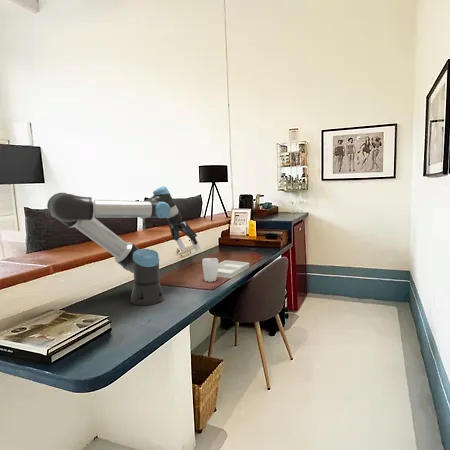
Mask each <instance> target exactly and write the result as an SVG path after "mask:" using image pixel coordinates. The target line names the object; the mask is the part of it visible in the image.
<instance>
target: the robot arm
mask: <svg viewBox="0 0 450 450" xmlns="http://www.w3.org/2000/svg"><path fill="white" fill-rule="evenodd" d="M46 204H47V205H46V207H47V212H48V213H49V215H50V216H51V217H52V218H54V219H56V220H58V221H60V223H62V224H63V225H65V226H66V227H68V228H69V229H70V228H75V229H76V230H78V231H79V232H80V233H82V234H83V235H84V236H86V237H88V238H89V239H90V240H91V241H92V242H94V243H95V244H97V245H98V246H99V247H101V248H102V249H104V250H105V251H106V252H107V253H109V254H110V255H112V256H113V257H114V261H115V262H116V263H117V264H118V265H120V266H121V267H122V268H123V269H125V270H126V271H129V272H130V273H132V274H133V288H132V291H131V294H130V295H131V296H130V303H132V304H133V305H138V306H149V305H150V306H151V305H156V304H160V303H161V302H163V301H164V299H165V298H164V292H163V289H162V286H161V283H160V255H159V252H157V251H156V250H155V249H150V248H139V247H137V246H136V245H135V244H134V243H132V242H131V241H130V242H127V241H125V240H124V239H122V238H121V237H120V236H119V235H117V234H116V233H115V232H113V231H112V230H111V229H109V228H108V227H107V226H105V225H104V224H103V223H102V222H101V221H99V220H98V219H97V218H100V219H104V218H108V219H109V218H115V219H116V218H117V219H118V218H123V219H125V218H140V219H142V220H144V219H146V218H151V219H152V218H154V219H155V218H159V219H166V221H167V222H168V227H169V229H170V230H169V231H170V235H171V240H174V241H175V242H176V244H177V245H178V247H179V249H180V251H181V252H183V251H185V250H186V249H187V248H186V247H185V244H184V243H183V240H182V238H181V237H180V232H181V233H183V234H185V235H186V236H187V237H188V238H189V239H190V242H191V244H192V246H193V248H194V250H195V252H197V251H199V250H200V249H201V247H200V245H199V242H198V240H197V239H196V237H198V234H197V233H196V232H195V231H194V230H193V228H192V227H191V226H190V225H189V224H188V223H187V220H185V221H182V220H183V217H182V215H181V213H180V212H179V209H178V207H177V205H176V203H175V201H174V199H173V196H172V194H171V192H170V191H169V189H168V187H166V186H163V185H162V186H160V187H158V188H156V189H155V190H153V191H152V196H151V197H149V198H147V199H145V200H116V199H115V200H114V199H113V200H112V199H109V200H108V199H94V198H93V197H91V196H90V197H89V196H79V195H75V194H73V193H72V194H71V193H66V192H58V193H55V194H53V195H52V196H51V197H50V198H48V201H47V203H46Z"/></svg>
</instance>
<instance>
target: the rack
mask: <svg viewBox="0 0 450 450" xmlns="http://www.w3.org/2000/svg"><path fill="white" fill-rule="evenodd" d="M249 268H250V262H245V261H235V260H229V259H227V260H223V261H221V262H218V272H217V278H225V279H232V278H234V277H236V276H237V275H239V274H241V273H243V272H244V271H246V270H247V269H249Z"/></svg>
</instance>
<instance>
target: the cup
mask: <svg viewBox="0 0 450 450" xmlns="http://www.w3.org/2000/svg"><path fill="white" fill-rule="evenodd" d="M218 264H219V259H218V258H217V257H204V258H202V270H203V271H202V274H203V278H204V281H205V282H207V281H208V283H213V281H214V282H216V281H217V279H218V277H217V272H218Z"/></svg>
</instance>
